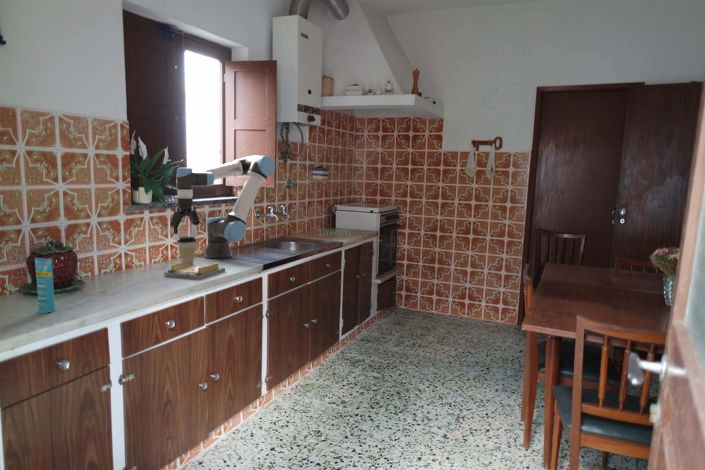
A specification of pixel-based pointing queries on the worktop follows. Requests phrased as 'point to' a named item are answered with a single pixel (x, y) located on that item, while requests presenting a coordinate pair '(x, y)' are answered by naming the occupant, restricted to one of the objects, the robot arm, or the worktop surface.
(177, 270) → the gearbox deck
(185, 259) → the coffee cup
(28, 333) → the worktop surface
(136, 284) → the worktop surface
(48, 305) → the tube
